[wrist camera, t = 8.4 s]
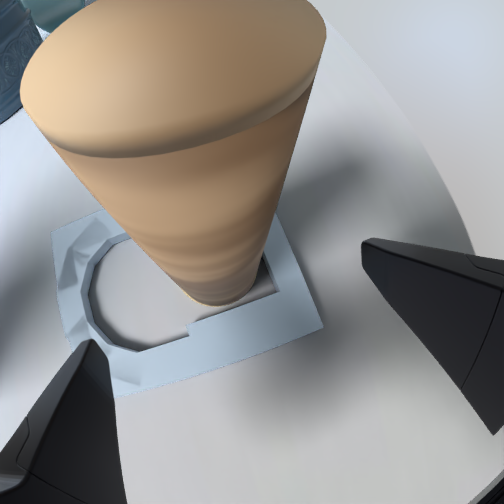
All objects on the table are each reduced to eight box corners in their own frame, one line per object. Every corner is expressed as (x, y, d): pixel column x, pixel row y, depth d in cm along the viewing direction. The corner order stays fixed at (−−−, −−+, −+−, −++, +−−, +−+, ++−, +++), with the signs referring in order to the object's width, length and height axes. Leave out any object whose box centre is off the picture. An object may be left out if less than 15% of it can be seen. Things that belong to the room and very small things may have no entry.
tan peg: (216, 323, 16) (105, 221, 2) (160, 266, 17) (-1, 66, 3) (273, 265, 17) (381, 31, 3) (216, 213, 18) (191, -37, 4)
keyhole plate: (93, 401, 14) (86, 404, 13) (55, 238, 17) (48, 233, 16) (319, 328, 16) (323, 327, 15) (250, 166, 19) (251, 158, 18)
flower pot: (93, 1, 28) (82, -40, 20) (94, 17, 26) (80, -31, 17) (45, 24, 27) (29, -14, 18) (39, 45, 25) (18, 1, 16)
